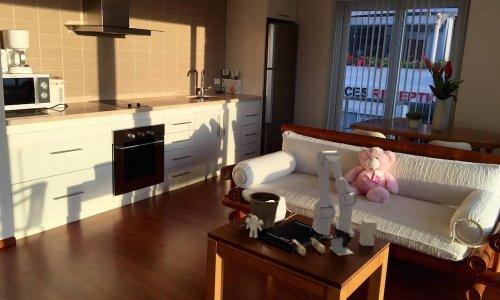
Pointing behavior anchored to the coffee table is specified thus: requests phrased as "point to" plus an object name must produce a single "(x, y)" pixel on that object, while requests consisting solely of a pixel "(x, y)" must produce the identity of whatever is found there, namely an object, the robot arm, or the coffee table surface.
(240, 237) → the coffee table surface
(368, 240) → the skincare box
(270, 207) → the plant pot
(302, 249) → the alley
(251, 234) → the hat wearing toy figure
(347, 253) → the coaster
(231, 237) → the coffee table surface
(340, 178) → the robot arm
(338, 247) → the block
